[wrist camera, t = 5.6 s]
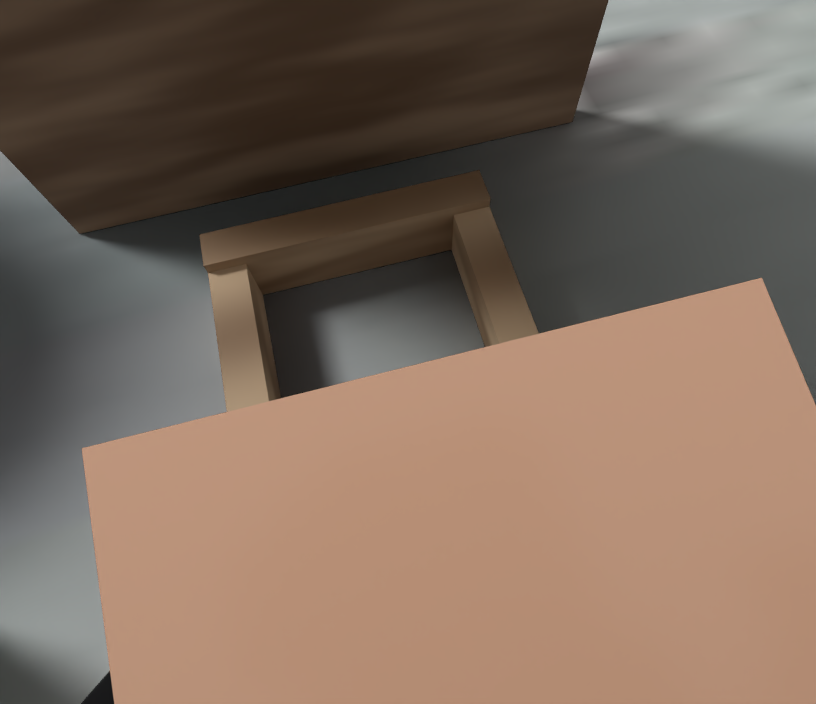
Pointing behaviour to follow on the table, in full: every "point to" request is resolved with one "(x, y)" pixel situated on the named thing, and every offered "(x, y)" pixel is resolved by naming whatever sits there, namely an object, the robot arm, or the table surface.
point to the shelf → (288, 132)
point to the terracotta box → (482, 527)
